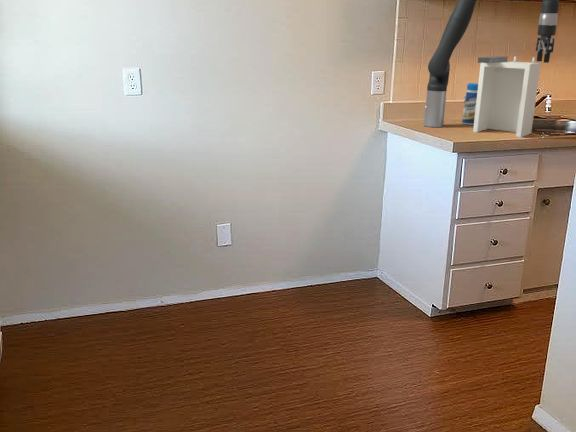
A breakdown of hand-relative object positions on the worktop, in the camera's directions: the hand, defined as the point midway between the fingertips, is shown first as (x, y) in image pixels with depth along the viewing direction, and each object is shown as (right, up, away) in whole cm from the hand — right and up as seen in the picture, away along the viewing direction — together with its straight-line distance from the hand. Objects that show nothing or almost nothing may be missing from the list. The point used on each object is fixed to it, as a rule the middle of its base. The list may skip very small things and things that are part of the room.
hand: (542, 62), depth 280 cm
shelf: (-14, -30, +12) cm, 35 cm away
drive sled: (-21, +1, +3) cm, 22 cm away
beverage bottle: (-22, -23, +37) cm, 48 cm away
